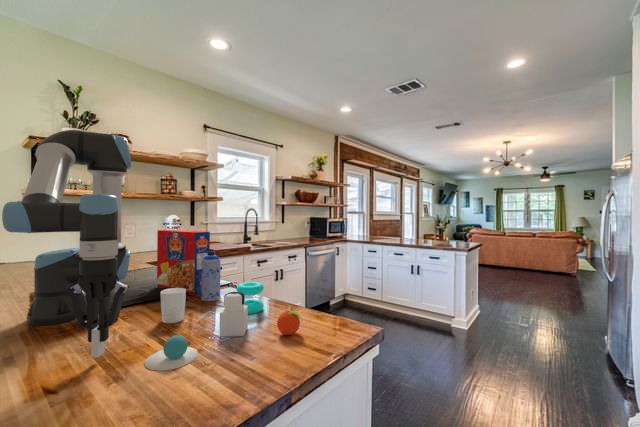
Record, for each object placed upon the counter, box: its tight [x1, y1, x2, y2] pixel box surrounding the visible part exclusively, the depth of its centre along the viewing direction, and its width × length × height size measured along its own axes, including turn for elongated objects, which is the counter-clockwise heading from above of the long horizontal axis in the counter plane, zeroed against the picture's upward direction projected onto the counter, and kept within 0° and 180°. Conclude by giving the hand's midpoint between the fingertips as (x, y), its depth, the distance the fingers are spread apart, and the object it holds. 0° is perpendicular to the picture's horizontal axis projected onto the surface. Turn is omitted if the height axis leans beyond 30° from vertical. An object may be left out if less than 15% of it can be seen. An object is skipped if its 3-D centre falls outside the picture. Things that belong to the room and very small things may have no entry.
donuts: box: [236, 281, 265, 315], centre depth 111 cm, size 10×10×10 cm
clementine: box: [276, 310, 303, 336], centre depth 89 cm, size 8×7×7 cm
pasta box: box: [156, 229, 211, 297], centre depth 141 cm, size 28×8×28 cm, turn 60°
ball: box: [162, 334, 189, 359], centre depth 74 cm, size 6×6×6 cm
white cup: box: [160, 288, 187, 324], centre depth 101 cm, size 8×8×10 cm
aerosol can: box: [200, 250, 222, 302], centre depth 126 cm, size 8×8×20 cm
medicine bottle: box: [219, 291, 249, 338], centre depth 91 cm, size 7×7×12 cm
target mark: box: [144, 346, 199, 372], centre depth 74 cm, size 12×12×1 cm
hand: (98, 354), depth 72 cm, fingers closed
